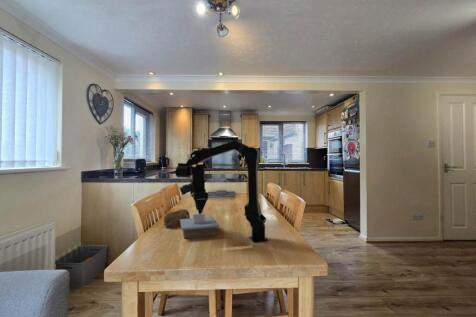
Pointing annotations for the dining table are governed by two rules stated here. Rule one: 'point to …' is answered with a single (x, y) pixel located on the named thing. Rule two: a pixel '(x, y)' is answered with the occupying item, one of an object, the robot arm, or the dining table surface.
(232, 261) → the dining table surface
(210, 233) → the box
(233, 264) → the dining table surface
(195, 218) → the lid
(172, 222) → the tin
